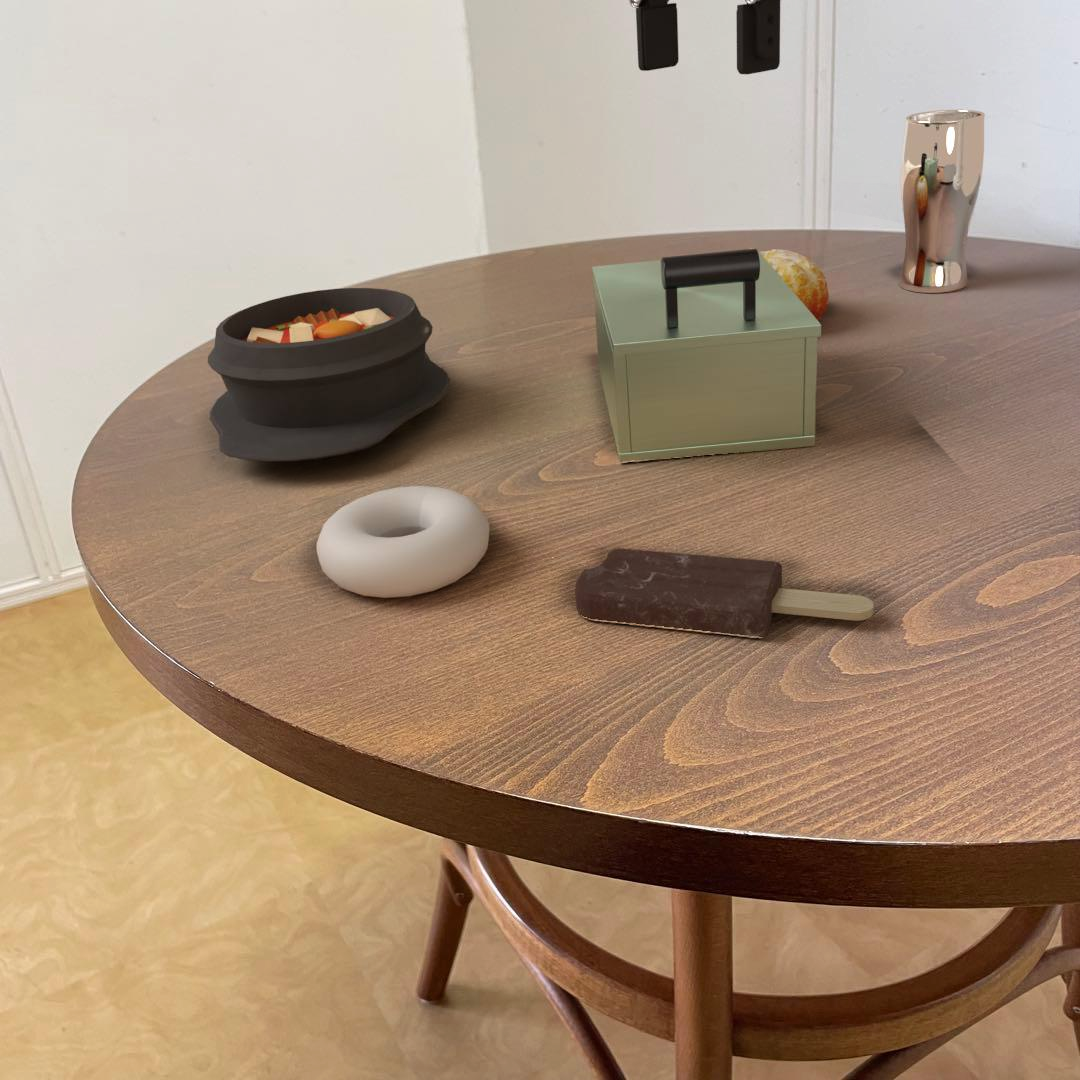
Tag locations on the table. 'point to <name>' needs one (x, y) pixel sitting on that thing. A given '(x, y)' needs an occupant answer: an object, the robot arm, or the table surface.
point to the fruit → (801, 278)
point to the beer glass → (939, 196)
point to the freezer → (709, 397)
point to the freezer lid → (699, 303)
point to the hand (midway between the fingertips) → (706, 69)
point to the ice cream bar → (702, 593)
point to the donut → (403, 541)
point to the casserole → (321, 373)
